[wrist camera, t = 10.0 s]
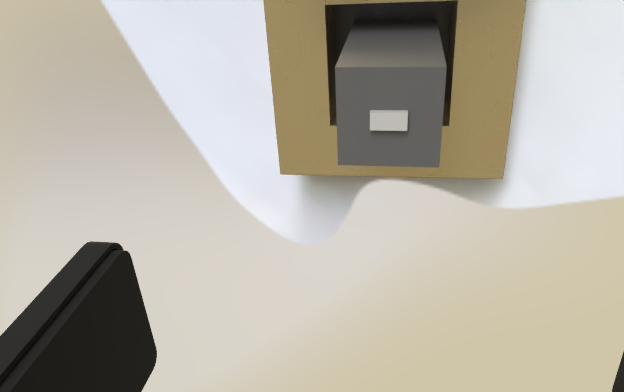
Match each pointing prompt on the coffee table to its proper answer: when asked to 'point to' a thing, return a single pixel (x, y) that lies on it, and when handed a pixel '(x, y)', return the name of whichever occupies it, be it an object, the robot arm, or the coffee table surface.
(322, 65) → the socket plate
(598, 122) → the coffee table surface
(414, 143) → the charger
